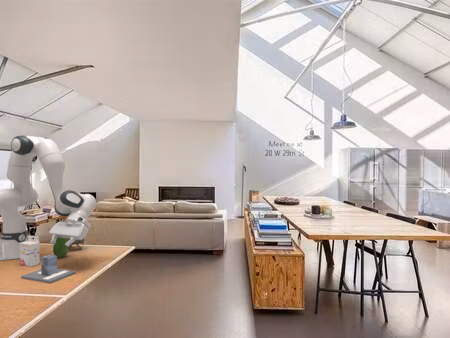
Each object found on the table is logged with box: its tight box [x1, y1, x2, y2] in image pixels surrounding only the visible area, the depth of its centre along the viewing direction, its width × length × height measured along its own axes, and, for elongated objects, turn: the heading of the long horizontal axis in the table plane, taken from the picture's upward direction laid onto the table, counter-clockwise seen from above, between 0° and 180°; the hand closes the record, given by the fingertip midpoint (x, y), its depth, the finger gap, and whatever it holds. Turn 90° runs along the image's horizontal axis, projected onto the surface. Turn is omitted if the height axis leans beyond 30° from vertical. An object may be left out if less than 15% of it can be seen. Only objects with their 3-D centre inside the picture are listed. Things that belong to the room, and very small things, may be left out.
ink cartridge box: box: [19, 234, 40, 268], centre depth 162 cm, size 9×5×15 cm, turn 71°
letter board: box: [20, 268, 77, 284], centre depth 146 cm, size 18×14×1 cm
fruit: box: [52, 237, 70, 259], centre depth 176 cm, size 8×8×12 cm
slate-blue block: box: [40, 254, 58, 276], centre depth 146 cm, size 4×4×8 cm
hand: (59, 244), depth 152 cm, fingers open, 8 cm apart
